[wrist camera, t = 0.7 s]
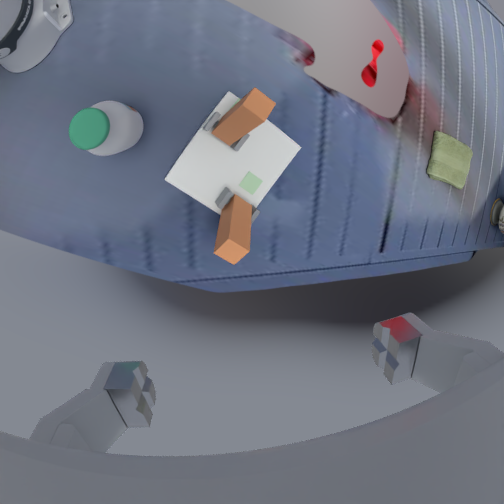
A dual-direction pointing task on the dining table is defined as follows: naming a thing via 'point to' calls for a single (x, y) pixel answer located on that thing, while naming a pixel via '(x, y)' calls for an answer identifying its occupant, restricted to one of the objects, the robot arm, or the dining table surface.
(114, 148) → the milk bottle
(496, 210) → the apothecary jar
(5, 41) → the robot arm
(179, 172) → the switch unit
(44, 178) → the dining table surface
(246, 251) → the lever
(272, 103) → the lever
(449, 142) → the washcloth
